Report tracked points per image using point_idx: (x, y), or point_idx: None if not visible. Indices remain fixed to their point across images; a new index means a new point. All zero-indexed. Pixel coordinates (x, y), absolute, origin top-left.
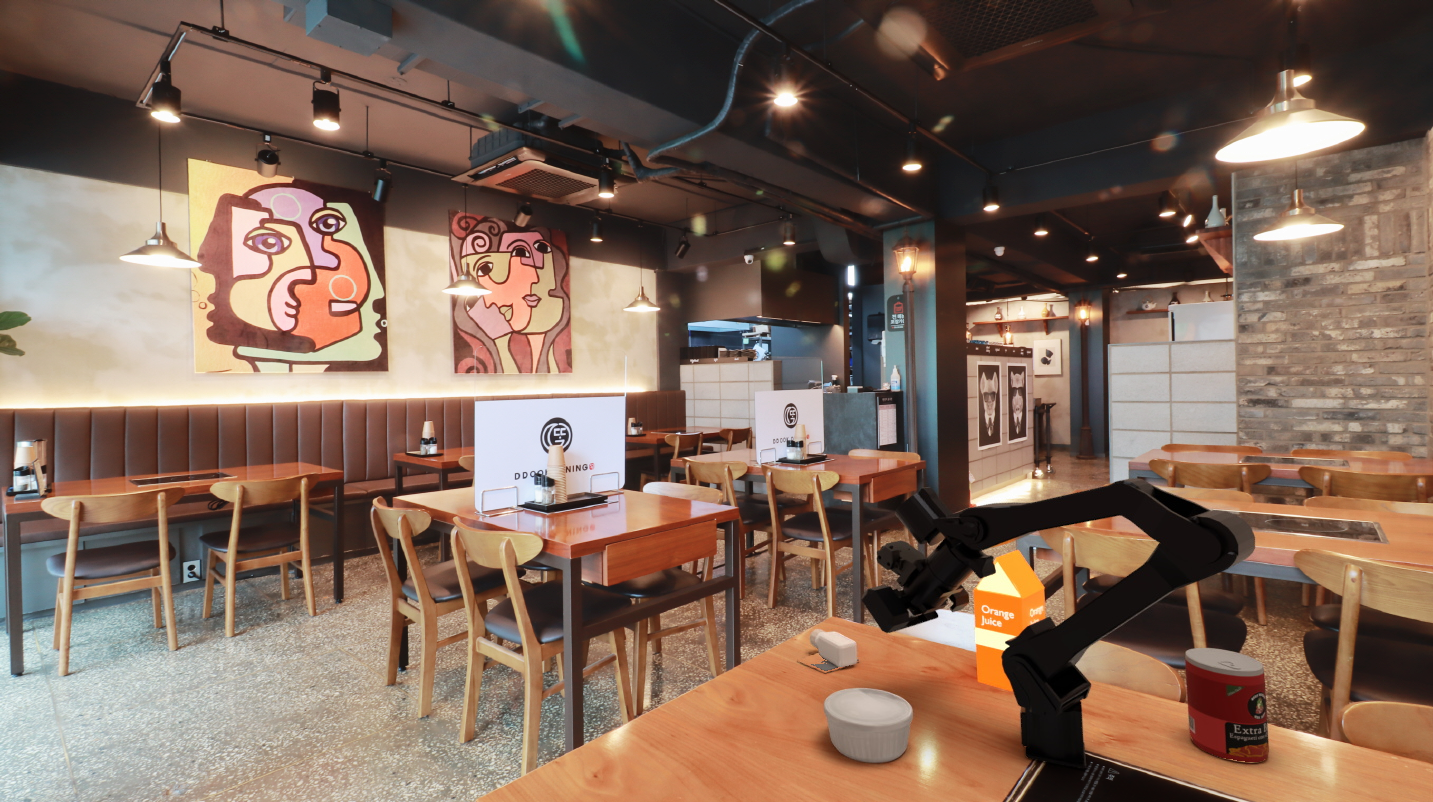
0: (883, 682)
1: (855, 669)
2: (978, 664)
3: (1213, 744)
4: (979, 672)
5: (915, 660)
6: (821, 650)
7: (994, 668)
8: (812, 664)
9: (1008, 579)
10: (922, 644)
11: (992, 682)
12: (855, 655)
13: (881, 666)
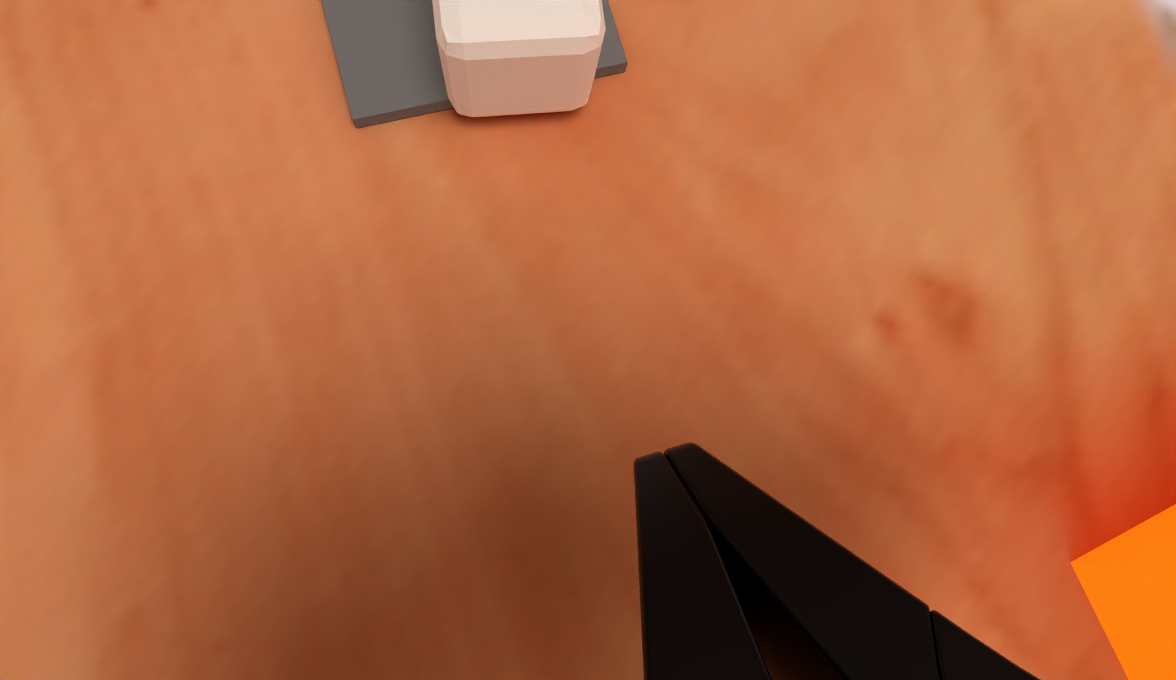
0: (597, 365)
1: (554, 145)
2: (1169, 592)
3: None
4: (1125, 585)
5: (926, 181)
6: None
7: None
8: (332, 7)
9: None
10: (1079, 15)
11: (1127, 649)
12: (575, 90)
13: (711, 171)
